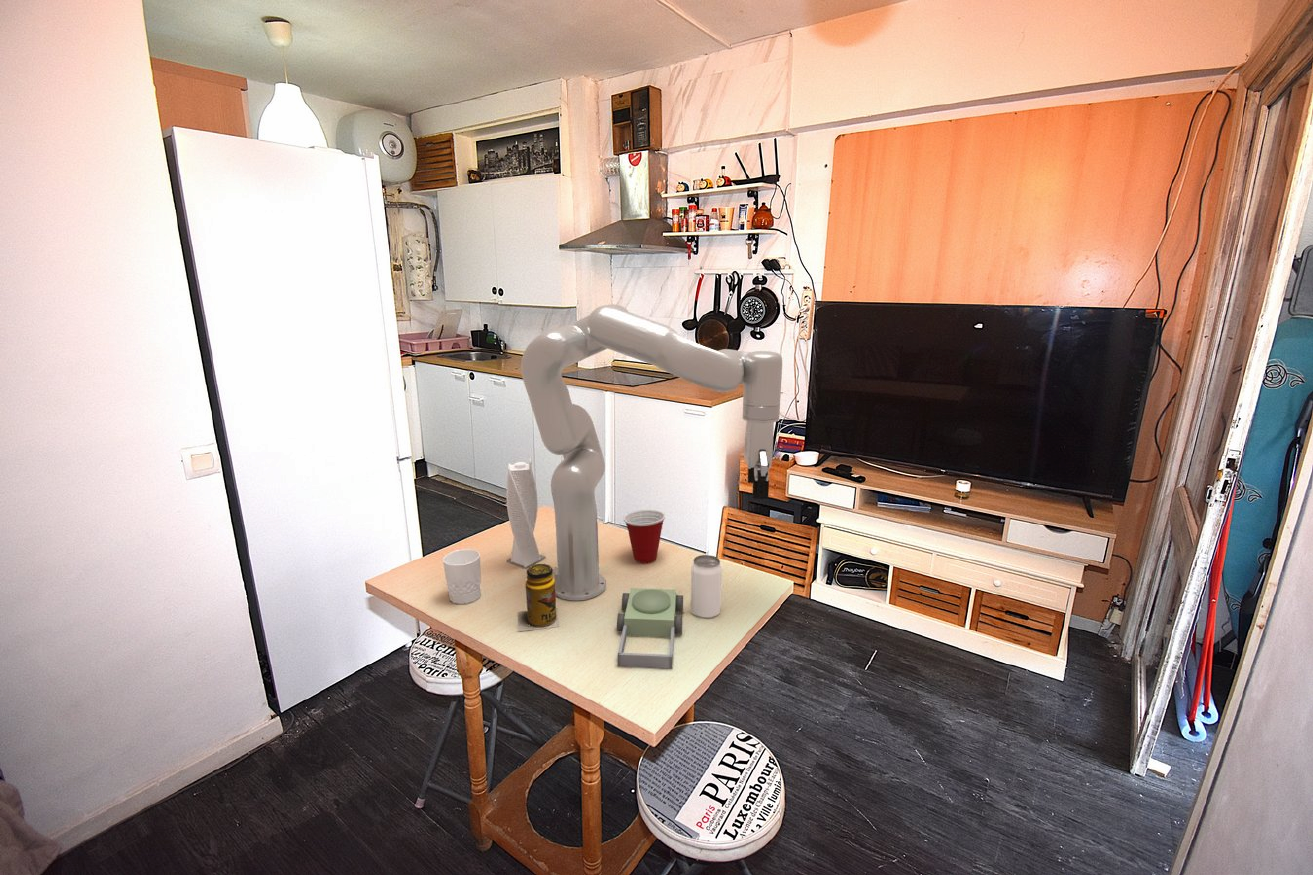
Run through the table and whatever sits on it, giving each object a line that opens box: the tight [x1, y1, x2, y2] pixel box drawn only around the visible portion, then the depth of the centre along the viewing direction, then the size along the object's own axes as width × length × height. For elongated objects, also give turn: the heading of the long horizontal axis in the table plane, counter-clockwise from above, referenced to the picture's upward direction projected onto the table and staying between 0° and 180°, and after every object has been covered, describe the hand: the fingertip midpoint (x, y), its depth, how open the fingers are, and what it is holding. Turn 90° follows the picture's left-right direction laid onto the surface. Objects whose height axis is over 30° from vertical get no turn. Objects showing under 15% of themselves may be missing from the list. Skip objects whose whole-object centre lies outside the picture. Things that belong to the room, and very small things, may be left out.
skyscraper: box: [506, 457, 547, 570], centre depth 144 cm, size 8×8×28 cm
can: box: [690, 554, 723, 619], centre depth 124 cm, size 6×6×12 cm
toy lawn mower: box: [616, 587, 684, 670], centre depth 117 cm, size 13×22×5 cm, turn 176°
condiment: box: [517, 563, 560, 632], centre depth 121 cm, size 7×8×12 cm
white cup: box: [442, 548, 482, 605], centre depth 130 cm, size 8×8×10 cm
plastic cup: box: [623, 509, 666, 564], centre depth 148 cm, size 11×11×12 cm
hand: (757, 490), depth 123 cm, fingers open, 9 cm apart
